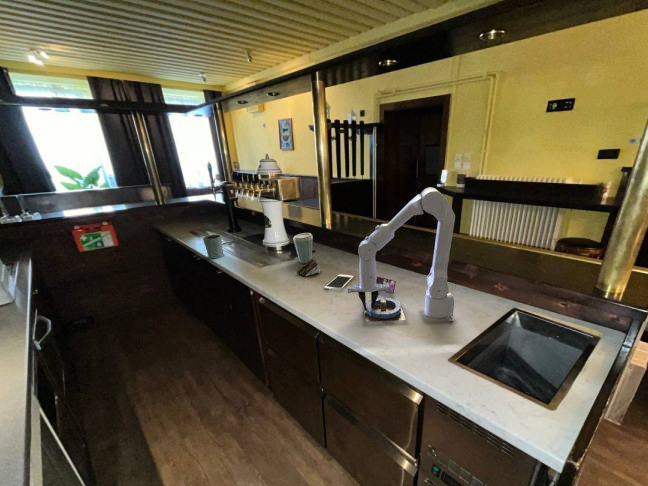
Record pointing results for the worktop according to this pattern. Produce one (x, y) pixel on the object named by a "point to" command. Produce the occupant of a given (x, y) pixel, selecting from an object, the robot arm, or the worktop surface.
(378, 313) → the ring
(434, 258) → the robot arm
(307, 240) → the disposable coffee cup
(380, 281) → the purple printed box
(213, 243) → the grey green cup
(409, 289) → the worktop surface
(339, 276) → the cell phone
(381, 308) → the platform
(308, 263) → the chocolate cake
